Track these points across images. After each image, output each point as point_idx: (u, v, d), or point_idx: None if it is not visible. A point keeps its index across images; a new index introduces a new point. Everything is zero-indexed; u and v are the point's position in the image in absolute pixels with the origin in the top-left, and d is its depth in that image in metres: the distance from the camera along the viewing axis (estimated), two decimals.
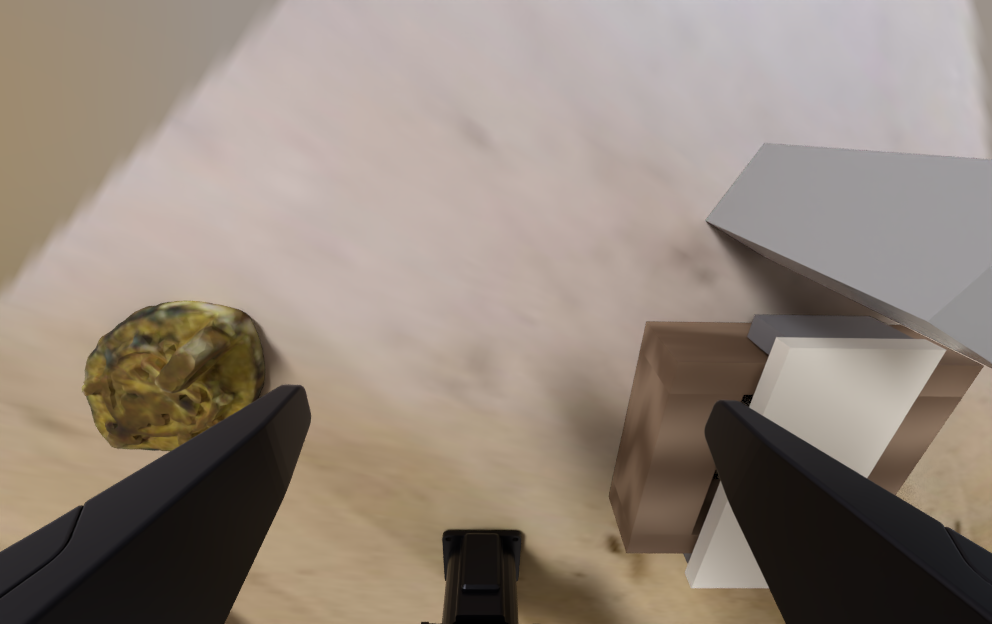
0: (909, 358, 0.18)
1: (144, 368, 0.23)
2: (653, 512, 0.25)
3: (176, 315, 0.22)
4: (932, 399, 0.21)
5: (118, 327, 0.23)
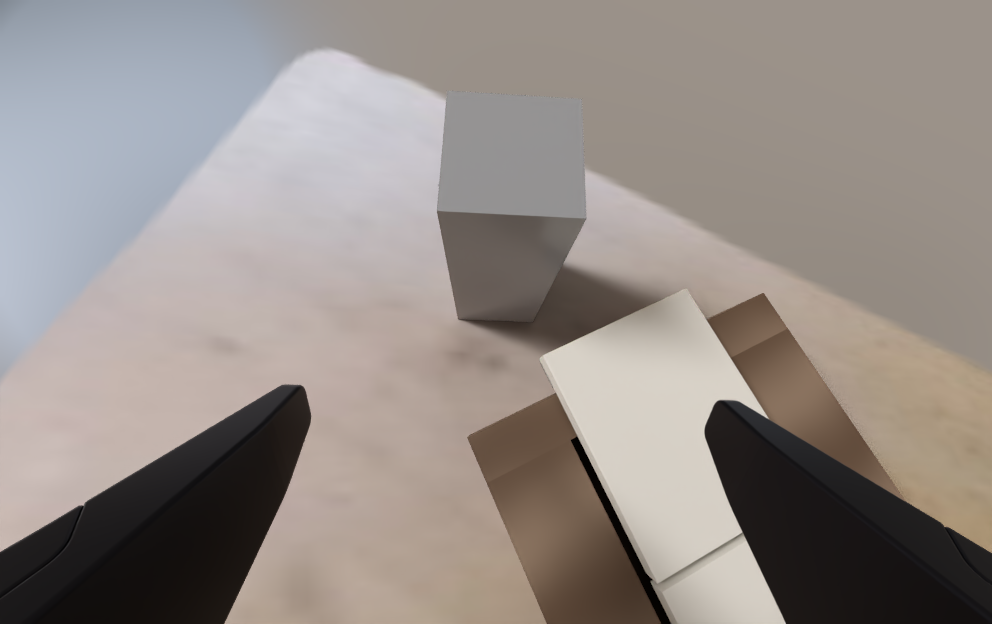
0: (664, 310, 0.17)
1: None
2: None
3: None
4: (763, 345, 0.18)
5: None
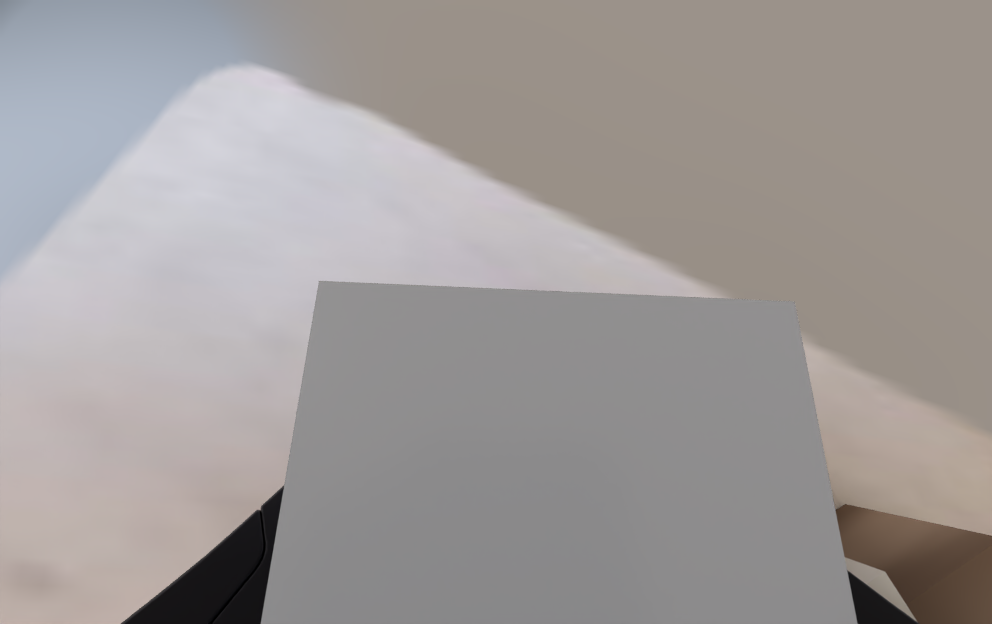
0: None
1: None
2: None
3: None
4: None
5: None
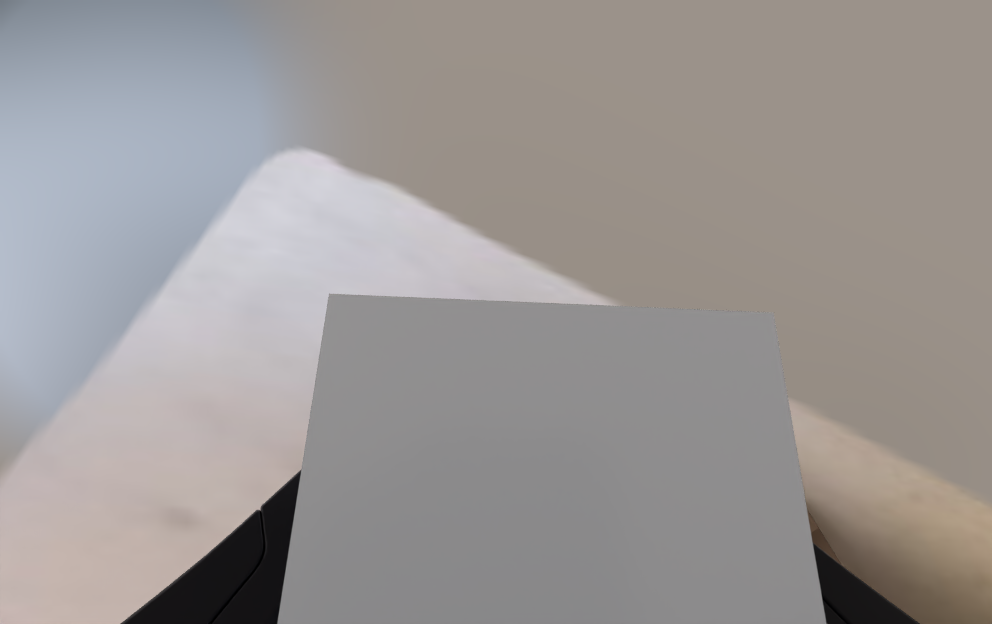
0: None
1: None
2: None
3: None
4: None
5: None
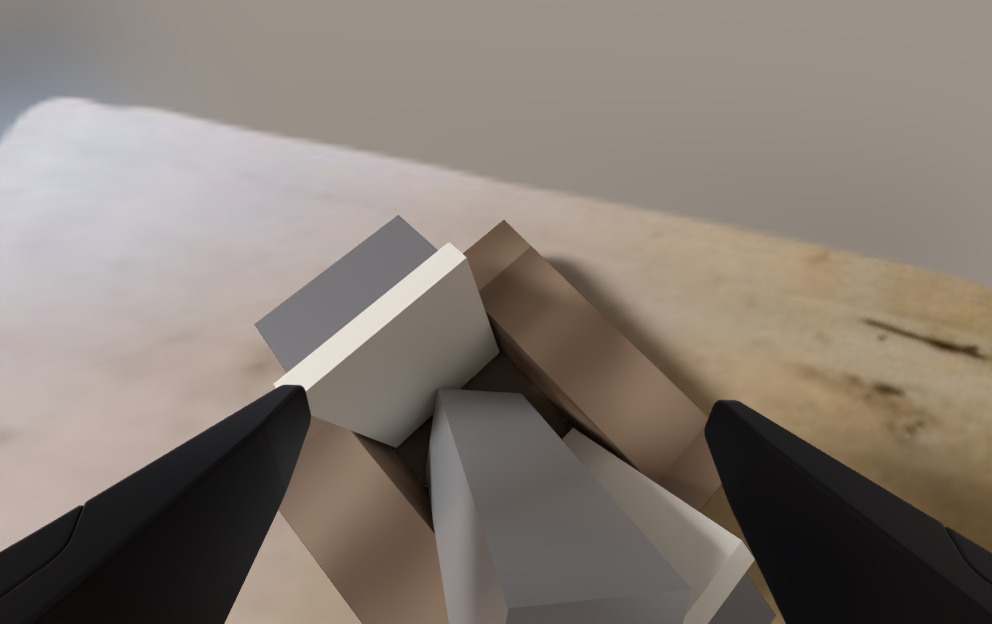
0: (437, 292, 0.14)
1: None
2: None
3: None
4: (511, 267, 0.19)
5: None
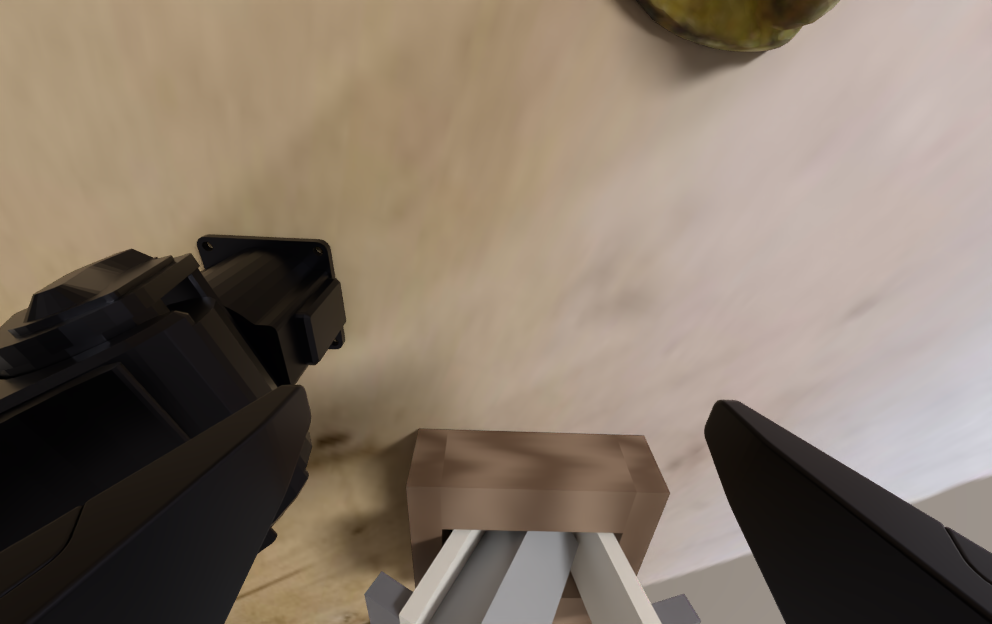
0: None
1: None
2: (477, 499, 0.23)
3: None
4: None
5: None
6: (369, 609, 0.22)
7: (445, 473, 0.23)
